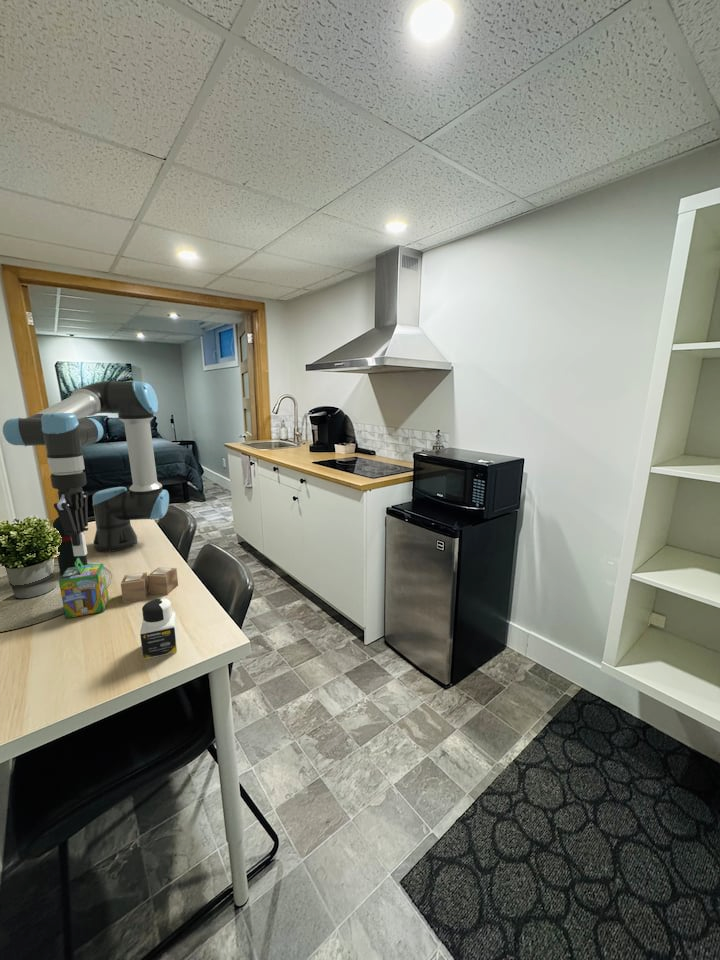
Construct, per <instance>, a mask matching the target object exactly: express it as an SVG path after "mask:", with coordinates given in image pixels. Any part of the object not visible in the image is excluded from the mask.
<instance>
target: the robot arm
mask: <svg viewBox="0 0 720 960" xmlns="http://www.w3.org/2000/svg"><path fill="white" fill-rule="evenodd" d="M158 406H159V401H158V397H157V394H156V392H155V390H154V388H153V387H152V385H151V384H150V383H148V382H146V381H136V380H135V381H129V380H128V381H122V380H121V381H117V380H116V381H115V380H114V381H113V380H112V381H111V380H109V381H108V380H106V381H103V380H102V381H98V382H94V383H91V384H88V385H85V386H82V387H80V388H77V389H76V390H74V391H72V393H70V396H69V397H66V398H65V399H63V400H60V401H58V402H57V403H55V404H52V405H51V406H49V407H47V408H45V409H43V410H40V411H38V412H36V413H35V414H31V416H28V417H25V418H22V417H17V418H9V419H7V420H5V422H4V423H3V425H2V434H3V437H4V439H5V440H6V442H8V444H10V445H13V446H24V447H29V446H31V447H32V446H37V447H38V446H39V447H40V446H45V450H46V451H45V452H46V458H47V461H46V462H47V464H48V470H49V472H50V473H51V475H50V476H49V477H50V482H51V483H50V484H51V487H52V489H55V490H57V491H59V497H58V502H55V503H54V504H53V507H54V509H55V510H56V512H57V515H58V517H59V518H60V521H61V524H62V527H63V530H64V533H65V535H71V541H72V547H73V553H74V556H85V555H86V556H87V555H88V548H87V542H86V536H85V531H86V532H87V531H88V530H89V527H88V526H89V518H88V515H89V513H88V508H89V507H88V498H89V492H88V491H83V490H84V489H83V487H85V486H86V485H87V483H88V482H87V477H86V476H87V475H86V472H85V471H84V470H85V469H86V468H85V461H84V457H83V456H84V455H83V451H82V446H86V445H92V444H94V443H97V442H99V441H100V440H101V439H102V438H103V436H104V427H103V426H102V423H100V421H99V420H97V419H95V418H92V416H95V415H97V414H117V416H118V420H119V421H121V422H122V423H123V424H124V430H125V432H124V433H125V437H126V438H125V439H126V446H127V452H128V458H129V459H128V460H129V465H130V473H131V479H132V481H131V482H132V485H130V486H129V490H128V489H127V487H125V486H117V487H109V488H105V489H102V490H98V491H96V492H95V493H93V495H92V507H93V513H94V521H95V527H96V531H95V535H94V538H93V544H92V545H93V549H94V550H95V551H97V552H106V553H107V552H108V553H109V552H115V551H121V550H126V549H128V548H130V547H133V546H135V545H136V544H137V543H138V536H137V534H136V531H135V530H134V528H133V526H132V525H131V521H136V520H139V521H140V520H157V519H162V518H164V517H165V515H166V514H167V512H168V510H169V509H168V508H169V504H170V494H169V491H168V490H167V489H163V484H162V483H160V482H159V481H158V475H157V468H156V461H155V460H156V459H155V452H154V445H153V437H152V430H151V422H152V420H153V419H154V415H155V414H156V413H158V411H159V407H158ZM59 499H60V501H59ZM134 544H135V545H134Z"/></svg>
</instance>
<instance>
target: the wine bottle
mask: <svg viewBox="0 0 720 960" xmlns="http://www.w3.org/2000/svg"><path fill="white" fill-rule="evenodd" d="M57 495H58V502H59V501H60V499H59V490H57ZM53 527H54V528H56V529H57V530H58V531H59V533H60V535H61V537H62V543H61V545H60V546H59V547H58V552H60V555H59V556H57V555H56V556H57V561H58V562H57V563H58V570H59V575H60V577H61V576H62V575H63V574H64V572H65V571H66V569H67V568H72V567H75V564H74V563H75V561H76V560H77V558H79V559H80V561H81V562H82V564H83V565H89V564H88V560H87V559H88V558H87V554H86V555H85V556H74V553H73V547H72V541H71V535H65V533H64V530H63V527H62V524H61V521H60V518H59V516H58V517H56V518H55V520H54V521H53V522H52V528H53ZM79 566H80V564H79V563H78V567H79Z"/></svg>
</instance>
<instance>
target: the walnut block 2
mask: <svg viewBox="0 0 720 960" xmlns="http://www.w3.org/2000/svg"><path fill="white" fill-rule="evenodd" d="M177 569H178V568H176V567H157V568H156V569H154V570H153V571H152V572H150V573H149V574H147V580H148V588H149V591H148V594H149V595H166V596H167V595H168V596H169V594H170V593H171V592H172V591H174V589H176V588H177V587H178V586H179V580H178V578H179V577H178V570H177Z"/></svg>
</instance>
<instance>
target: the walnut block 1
mask: <svg viewBox="0 0 720 960" xmlns="http://www.w3.org/2000/svg"><path fill="white" fill-rule="evenodd" d="M147 576H148V572H139V573H134V574H133V573H131V574H126V575H124V576H123V578H122V580H121V582H120V588H121V589H120V590H121V591H120V592H121V599H122V603H129V602H135V601H141V600H142V601H143V600H147V596H148V594H149V588H148V580H147Z"/></svg>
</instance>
